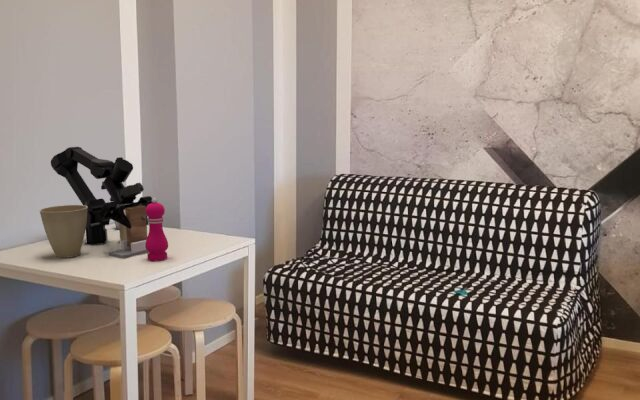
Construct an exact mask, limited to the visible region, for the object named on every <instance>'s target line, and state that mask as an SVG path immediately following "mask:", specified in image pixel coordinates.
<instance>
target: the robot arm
mask: <svg viewBox="0 0 640 400" xmlns="http://www.w3.org/2000/svg"><path fill="white" fill-rule="evenodd" d="M79 164H80V165H82V166H83V167H85V168H87V169H88V170H89V171H90V175H92V176H93V178H95V179H97V180H100V179H104V180H103V181H101V182H102V183H101V186H100V188H101V189H100V190H101V191H102V190H106V191H107V193H108V195H109V196H110V197H109V201H108V202H107V201H106V200H105V199H104V198H96V196H95V194H94V193H93V192H92V191H91V189H90V187H89V186H88V185H87V183H86V181H85V180H84V178H83V177H82V175H81V174H80V172H79V171H78V166H79ZM50 166H51V168H52V169H53V171H55V173H56V174H57V175H59V176H60V177H63V178H64V179H65V180H66V181H67V182H68V184H69V186H70V187H71V189H72V190H73V192H74V193H75V195H76V197H77V198H78V200H79V201H80V203H81V205H84V206H87V207H88V210H87V222H86V229H85V236H86V237H85V239H86V242H85V244H84V245H86V246H87V245H104V244H105V243H106V242H107V241H108V229H107V228H106V226H109V225H110V222H111V221H112V220H113V222H114V221H116V222H119V223H120V224H122V225H124V226H126V227H127V228H129V229H131V227H132V226H131V224H130V222H129V220H128V219H127V217H126V215H125V214H124V210H125V208H129V207H135V206H141V205H142V206H146V207H147V206H148V205H149V204H151V203H152V199H153V198H152V195H151V196H150V195H147V196H141V197H140V198H139V199H138V200H137V196H138V195H141V194H142V192H144V186H143V185H142V183H141V182H136V183H135V184H130V185H127V186H125V184H124V182H126V181H127V180H128V178H129V177H130V174H131V173H132V172H133V170H134V166H133V163H132V162H131V161H130V162H129V160H126V159H124V158H123V157H121V156H119V157H116V159H115V161H112V160H109V159H102V158H98V157H97V156H95V155H93V154H91V153H89V152H87V151H86V150H84V149H83V148H82V147H80V146H70V147H68V148H66V149H65V150H63V151H61V152H58V153H56V154H55V155H53V157H52V158H51V159H50ZM136 200H137V201H136ZM134 201H135V202H134ZM146 218H147V219H146V220H147V226H149V223H148V216H147V215H146ZM110 220H111V221H110Z"/></svg>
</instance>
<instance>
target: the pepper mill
mask: <svg viewBox="0 0 640 400" xmlns="http://www.w3.org/2000/svg"><path fill="white" fill-rule="evenodd" d="M165 210H166V209H165V207H164V205H163V204H161V203H160V202H158V198H156V197H153V198H152V203H151V204H149V205H148V206H147V207H146V211H145V212H146V215H147V219H148V226H149V227H148V228H149V229H148V233H147V240H146V244H145V248H146V250H147V251H148V252H149V253H146V254H147V260H148V261H152V262H161V261H166V260H167V259H168V253H167V250H168V248H169V242H168V238H167V236H166V234H165V232H164V229H163V223H164V217H163V216H164V215H165Z"/></svg>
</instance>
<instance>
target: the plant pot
mask: <svg viewBox="0 0 640 400" xmlns="http://www.w3.org/2000/svg"><path fill="white" fill-rule="evenodd" d="M87 210H88V207H87V206H84V205H83V204H64V205H63V204H62V205H55V206H48V207H43V208H40V210H39V213H40V214H39V215H40V217H41V221H42V225H43V229H44V232H45V234H46V238H47V239H48V242H49V244H50V247H51V249H52V251H53V253H54V255H55V257H57V258H73V257H76V256H79V255H80V253H81V250H82V247H83V242H84V239H85V236H86V222H87Z"/></svg>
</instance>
